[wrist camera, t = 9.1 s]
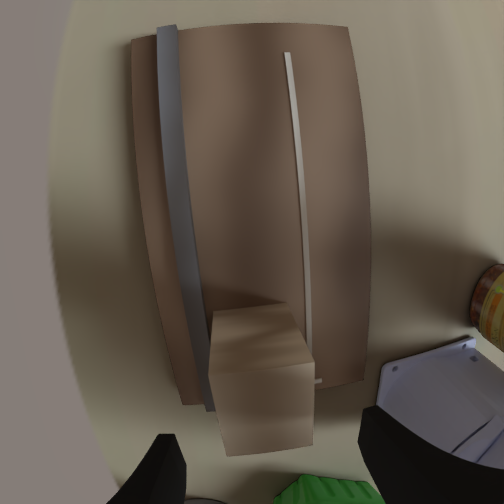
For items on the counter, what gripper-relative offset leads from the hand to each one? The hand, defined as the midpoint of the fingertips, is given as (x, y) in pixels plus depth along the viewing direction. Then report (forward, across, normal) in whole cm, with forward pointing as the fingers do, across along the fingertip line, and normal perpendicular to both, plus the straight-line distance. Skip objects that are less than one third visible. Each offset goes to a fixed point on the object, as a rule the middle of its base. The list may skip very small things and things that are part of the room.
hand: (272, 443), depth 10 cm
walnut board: (+9, -1, -7) cm, 11 cm away
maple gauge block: (+8, 0, 0) cm, 8 cm away
